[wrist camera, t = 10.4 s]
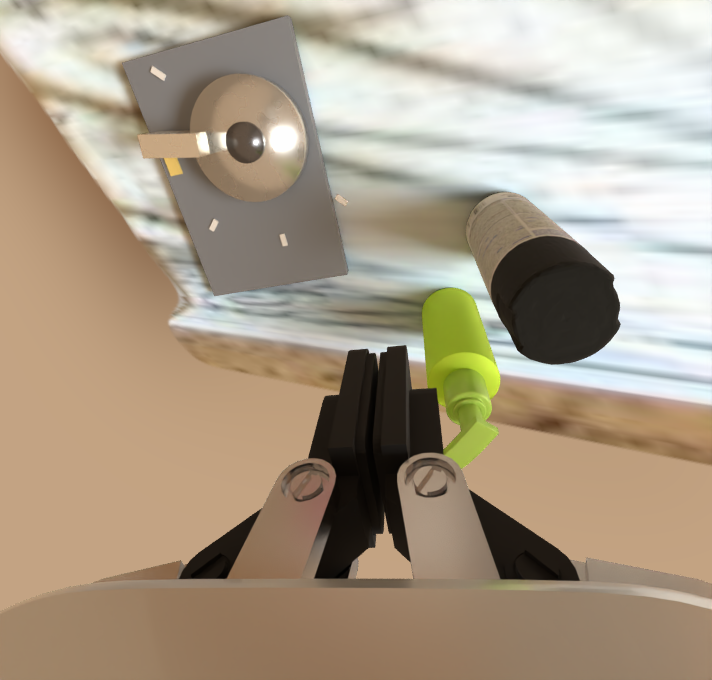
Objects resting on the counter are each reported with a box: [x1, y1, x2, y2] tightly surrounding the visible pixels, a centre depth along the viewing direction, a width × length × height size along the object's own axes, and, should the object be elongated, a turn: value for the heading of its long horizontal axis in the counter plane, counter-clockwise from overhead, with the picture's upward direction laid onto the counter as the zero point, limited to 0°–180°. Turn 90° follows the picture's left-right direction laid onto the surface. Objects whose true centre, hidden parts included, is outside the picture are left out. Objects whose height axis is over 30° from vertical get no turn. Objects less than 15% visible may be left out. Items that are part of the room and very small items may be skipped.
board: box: [122, 16, 348, 296], centre depth 41 cm, size 22×17×1 cm
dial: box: [137, 74, 309, 202], centre depth 37 cm, size 14×10×4 cm
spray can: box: [466, 192, 621, 365], centre depth 33 cm, size 7×7×20 cm
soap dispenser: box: [422, 288, 500, 469], centre depth 38 cm, size 6×7×20 cm
